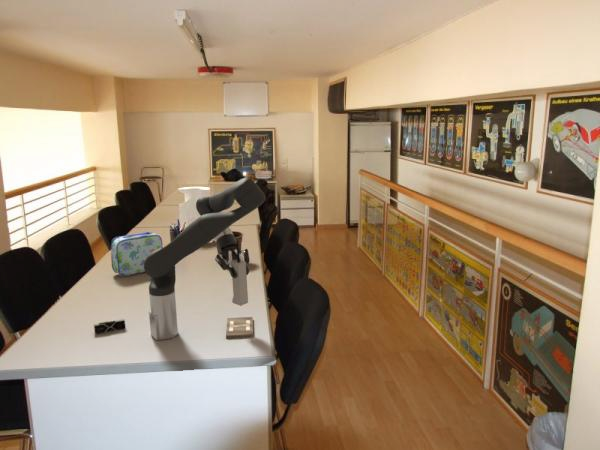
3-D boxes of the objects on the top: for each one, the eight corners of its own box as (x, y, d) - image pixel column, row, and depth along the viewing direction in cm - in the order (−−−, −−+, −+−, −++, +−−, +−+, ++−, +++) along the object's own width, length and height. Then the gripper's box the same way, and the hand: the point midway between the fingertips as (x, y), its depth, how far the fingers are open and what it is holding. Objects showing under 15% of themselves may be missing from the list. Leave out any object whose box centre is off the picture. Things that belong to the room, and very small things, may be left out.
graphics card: (93, 335, 189) (92, 325, 186) (93, 331, 191) (91, 321, 188) (125, 329, 193) (124, 319, 191) (124, 325, 195) (124, 315, 193)
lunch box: (157, 264, 276) (154, 227, 271) (166, 268, 268) (163, 231, 263) (111, 274, 259) (107, 235, 254) (119, 279, 251) (115, 239, 246)
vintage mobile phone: (239, 300, 192) (235, 238, 186) (248, 303, 189) (244, 240, 183) (232, 303, 189) (227, 240, 184) (241, 306, 186) (237, 242, 180)
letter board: (252, 336, 185) (252, 333, 184) (226, 338, 184) (225, 335, 183) (252, 319, 200) (252, 316, 200) (227, 320, 199) (227, 318, 199)
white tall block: (211, 243, 319) (180, 242, 322) (217, 238, 330) (187, 237, 333) (208, 189, 311) (177, 189, 314) (214, 187, 322) (184, 186, 325)
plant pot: (242, 266, 270) (241, 238, 266) (212, 266, 270) (211, 238, 266) (245, 258, 285) (244, 230, 282) (218, 258, 286) (216, 231, 282)
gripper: (237, 240, 199) (254, 276, 192) (205, 247, 191) (221, 285, 184) (243, 230, 193) (260, 267, 186) (210, 236, 185) (227, 275, 178)
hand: (241, 275), depth 185 cm, fingers closed on vintage mobile phone, 4 cm apart
